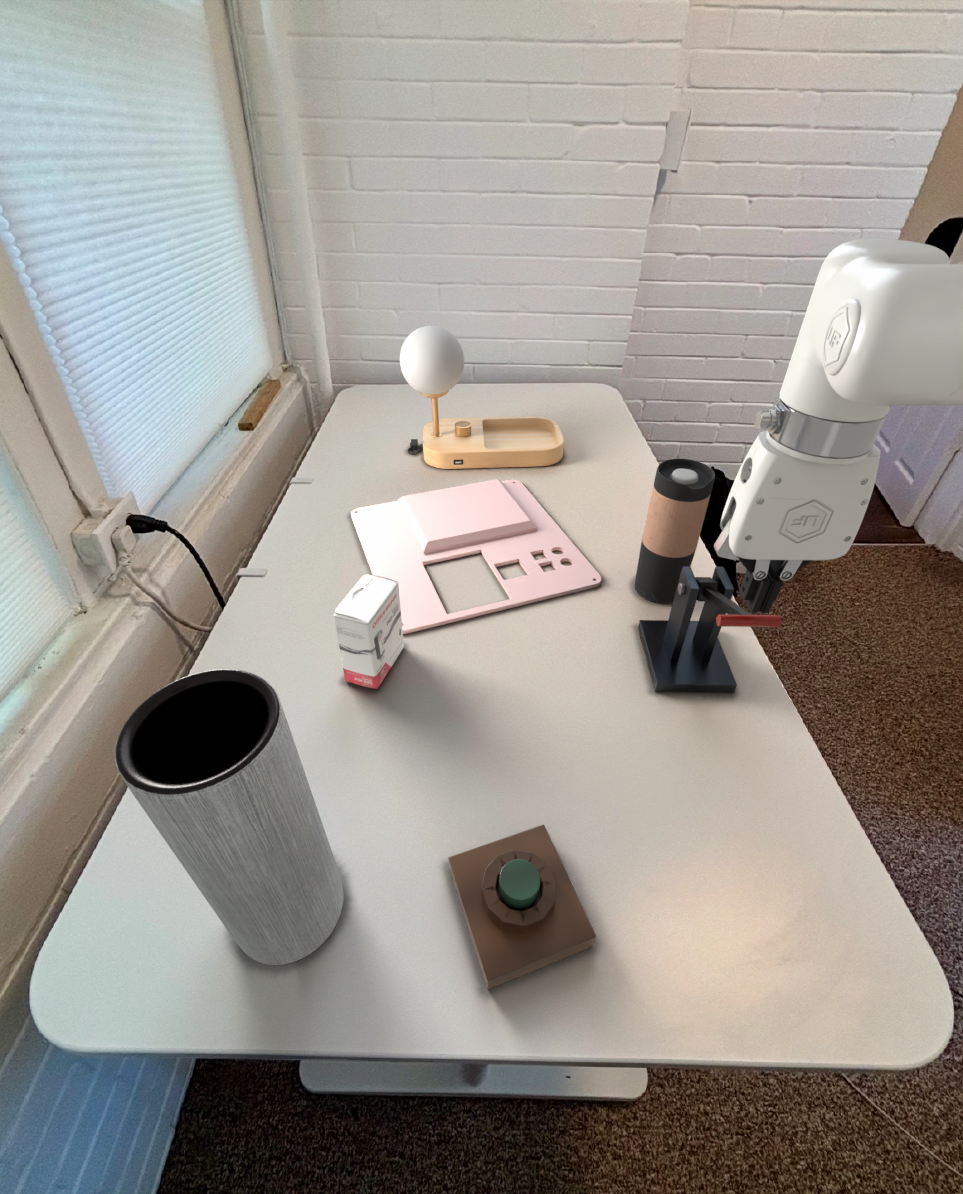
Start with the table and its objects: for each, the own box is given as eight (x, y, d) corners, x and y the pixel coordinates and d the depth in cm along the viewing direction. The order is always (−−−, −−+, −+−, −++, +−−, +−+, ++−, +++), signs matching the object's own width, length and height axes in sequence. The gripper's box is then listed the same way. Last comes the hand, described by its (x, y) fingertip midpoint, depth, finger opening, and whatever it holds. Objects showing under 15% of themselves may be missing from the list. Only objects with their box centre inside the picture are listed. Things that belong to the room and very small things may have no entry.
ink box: (379, 692, 75) (367, 622, 67) (344, 682, 76) (328, 613, 69) (407, 646, 81) (399, 578, 74) (374, 638, 82) (363, 570, 75)
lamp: (554, 431, 135) (563, 312, 118) (566, 466, 121) (578, 338, 105) (409, 434, 134) (398, 315, 117) (405, 471, 120) (392, 341, 104)
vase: (347, 848, 59) (289, 660, 42) (341, 958, 52) (267, 784, 34) (244, 860, 58) (142, 673, 41) (223, 974, 51) (86, 803, 33)
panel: (349, 512, 108) (347, 501, 107) (517, 481, 117) (518, 470, 115) (394, 636, 83) (393, 624, 81) (604, 584, 91) (606, 572, 90)
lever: (780, 634, 59) (783, 611, 58) (719, 633, 59) (721, 610, 58) (723, 596, 73) (726, 577, 72) (675, 595, 73) (676, 576, 73)
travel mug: (644, 567, 95) (669, 453, 82) (691, 585, 91) (724, 467, 78) (624, 592, 90) (646, 474, 77) (672, 611, 87) (704, 491, 74)
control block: (593, 946, 52) (599, 927, 50) (487, 990, 50) (487, 973, 47) (542, 835, 60) (545, 814, 58) (448, 867, 58) (447, 847, 55)
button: (545, 900, 52) (547, 891, 51) (507, 915, 51) (508, 906, 50) (529, 862, 54) (530, 853, 53) (493, 875, 53) (493, 866, 52)
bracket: (734, 693, 74) (767, 611, 66) (654, 691, 75) (677, 610, 66) (708, 628, 84) (734, 548, 75) (637, 627, 84) (655, 548, 75)
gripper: (741, 447, 43) (686, 629, 55) (948, 448, 43) (848, 631, 55) (713, 406, 49) (668, 579, 61) (895, 407, 49) (815, 580, 60)
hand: (754, 603), depth 58 cm, fingers closed
